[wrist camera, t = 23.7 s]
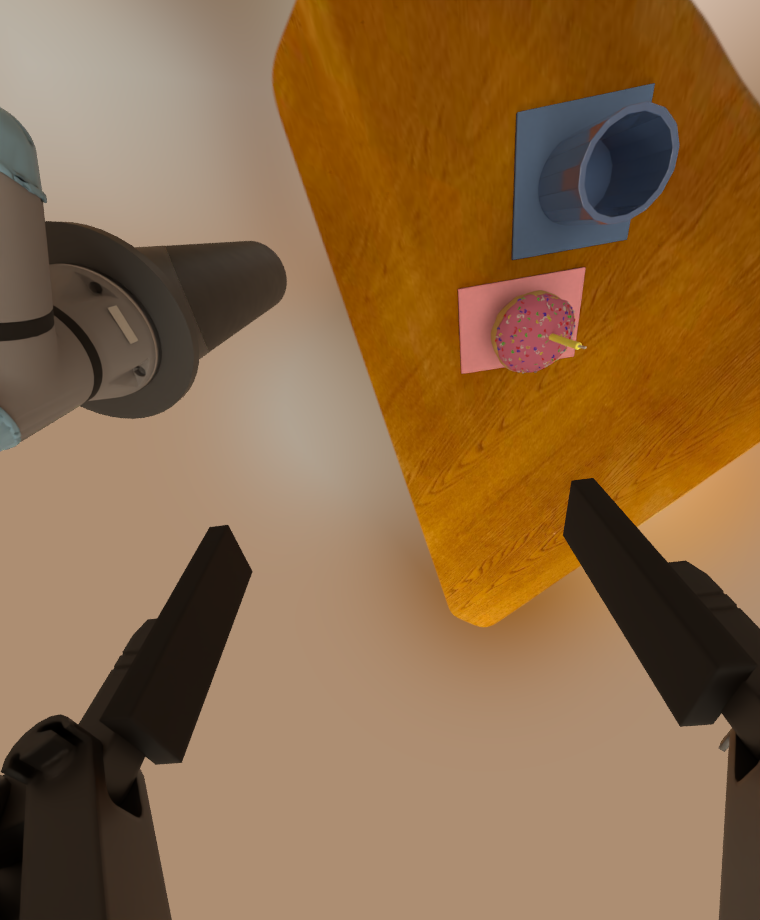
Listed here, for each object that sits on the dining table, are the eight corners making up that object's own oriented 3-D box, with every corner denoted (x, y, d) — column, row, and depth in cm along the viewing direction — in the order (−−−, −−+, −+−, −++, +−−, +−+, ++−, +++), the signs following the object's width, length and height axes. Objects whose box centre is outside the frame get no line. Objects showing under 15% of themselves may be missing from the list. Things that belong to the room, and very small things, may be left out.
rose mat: (461, 372, 46) (461, 373, 46) (457, 288, 41) (458, 289, 41) (572, 355, 45) (573, 356, 45) (583, 266, 40) (585, 267, 40)
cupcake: (554, 275, 40) (614, 290, 30) (556, 349, 44) (608, 384, 34) (478, 298, 41) (510, 320, 31) (486, 368, 46) (517, 407, 35)
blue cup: (534, 231, 38) (573, 230, 30) (539, 140, 34) (586, 114, 26) (606, 218, 37) (664, 214, 30) (620, 124, 33) (691, 92, 26)
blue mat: (511, 259, 39) (512, 259, 39) (516, 113, 33) (517, 112, 33) (624, 239, 38) (627, 239, 38) (652, 84, 32) (655, 83, 32)
